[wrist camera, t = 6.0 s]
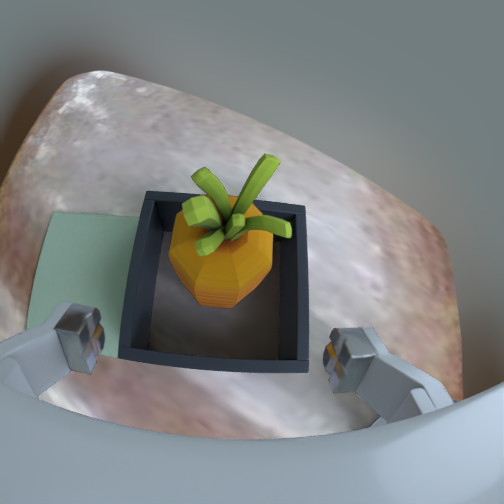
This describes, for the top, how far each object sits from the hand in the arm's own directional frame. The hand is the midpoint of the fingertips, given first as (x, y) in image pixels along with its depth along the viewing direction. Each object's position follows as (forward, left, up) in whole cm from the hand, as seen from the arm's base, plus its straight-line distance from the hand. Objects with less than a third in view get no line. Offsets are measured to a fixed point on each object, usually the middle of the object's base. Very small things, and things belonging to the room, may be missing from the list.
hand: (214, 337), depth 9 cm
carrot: (0, +4, -12) cm, 13 cm away
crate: (0, +4, -12) cm, 13 cm away
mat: (-12, +4, -12) cm, 18 cm away
